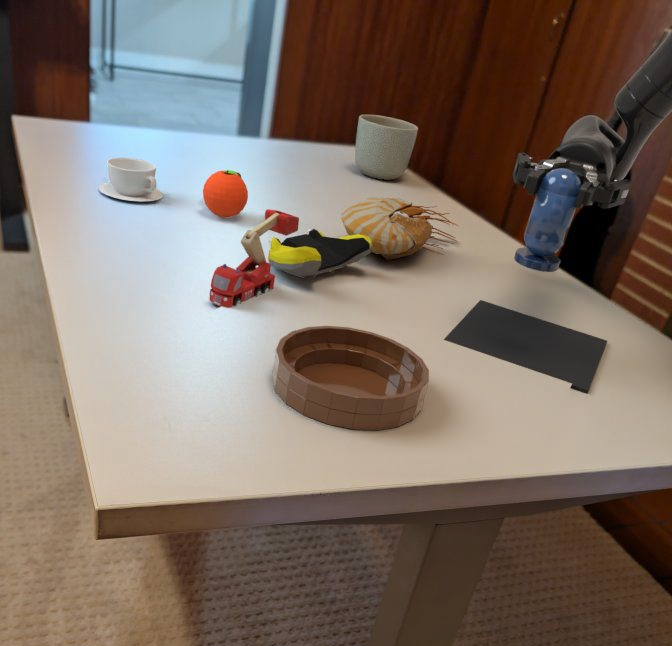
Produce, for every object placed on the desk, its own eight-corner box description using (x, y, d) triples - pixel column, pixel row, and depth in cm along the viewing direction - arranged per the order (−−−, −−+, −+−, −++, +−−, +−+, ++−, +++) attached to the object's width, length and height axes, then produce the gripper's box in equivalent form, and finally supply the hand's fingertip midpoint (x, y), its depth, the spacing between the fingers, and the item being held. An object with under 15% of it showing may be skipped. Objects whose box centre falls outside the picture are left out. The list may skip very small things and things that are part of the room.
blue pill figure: (561, 264, 89) (593, 171, 84) (553, 276, 85) (586, 178, 79) (519, 252, 91) (547, 159, 85) (509, 262, 87) (538, 166, 81)
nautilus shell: (435, 242, 129) (476, 281, 118) (319, 227, 120) (352, 268, 109) (450, 196, 124) (495, 232, 113) (331, 178, 115) (367, 215, 104)
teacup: (84, 189, 118) (84, 158, 116) (132, 182, 126) (132, 153, 123) (130, 207, 114) (131, 176, 112) (176, 199, 122) (178, 170, 119)
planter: (371, 184, 154) (382, 127, 148) (338, 166, 162) (347, 112, 156) (418, 184, 160) (430, 131, 154) (384, 167, 168) (394, 116, 163)
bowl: (438, 391, 81) (447, 358, 79) (388, 454, 68) (397, 416, 66) (312, 346, 85) (318, 313, 83) (243, 397, 72) (248, 360, 70)
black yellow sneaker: (372, 275, 108) (319, 251, 112) (380, 237, 105) (325, 215, 109) (305, 295, 97) (249, 268, 101) (312, 254, 94) (254, 228, 99)
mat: (606, 343, 101) (607, 340, 101) (587, 393, 87) (588, 390, 87) (479, 302, 106) (480, 299, 106) (441, 343, 92) (442, 340, 91)
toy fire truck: (205, 304, 89) (212, 223, 84) (269, 278, 100) (278, 205, 95) (228, 313, 88) (236, 232, 83) (290, 286, 99) (301, 213, 94)
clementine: (220, 205, 123) (224, 160, 120) (256, 217, 121) (262, 172, 118) (192, 214, 117) (195, 167, 113) (230, 226, 115) (235, 179, 111)
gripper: (534, 123, 95) (502, 138, 81) (648, 152, 91) (636, 173, 77) (516, 184, 99) (483, 208, 85) (625, 214, 95) (609, 244, 81)
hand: (556, 191), depth 81 cm, fingers closed on blue pill figure, 4 cm apart
